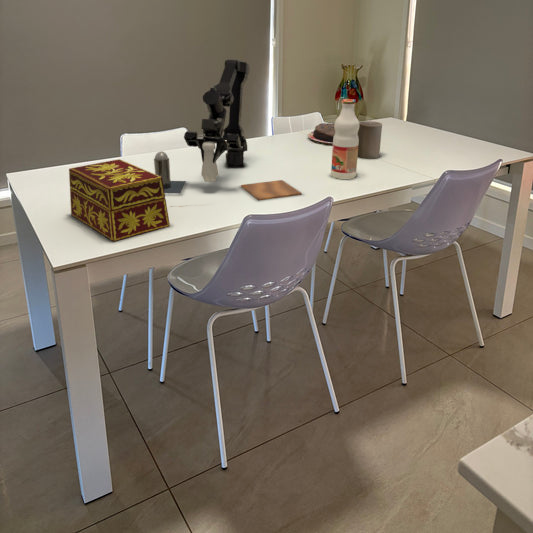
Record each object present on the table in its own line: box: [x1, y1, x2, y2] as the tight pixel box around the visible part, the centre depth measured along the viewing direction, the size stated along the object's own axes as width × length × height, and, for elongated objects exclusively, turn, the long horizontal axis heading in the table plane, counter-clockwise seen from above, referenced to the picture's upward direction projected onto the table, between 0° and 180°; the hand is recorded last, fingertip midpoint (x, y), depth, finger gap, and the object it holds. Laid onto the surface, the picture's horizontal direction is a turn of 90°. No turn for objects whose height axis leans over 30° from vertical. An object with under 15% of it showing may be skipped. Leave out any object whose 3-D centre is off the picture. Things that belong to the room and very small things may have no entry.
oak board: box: [240, 179, 302, 201], centre depth 205 cm, size 16×16×1 cm
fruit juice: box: [330, 98, 360, 180], centre depth 216 cm, size 9×9×28 cm
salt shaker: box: [200, 142, 219, 183], centre depth 198 cm, size 6×6×13 cm
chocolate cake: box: [307, 122, 335, 146], centre depth 274 cm, size 28×28×7 cm
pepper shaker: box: [153, 151, 172, 189], centre depth 204 cm, size 5×5×12 cm
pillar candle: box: [357, 119, 383, 160], centre depth 245 cm, size 10×10×15 cm
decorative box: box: [68, 158, 171, 242], centre depth 175 cm, size 28×19×15 cm
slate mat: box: [164, 180, 187, 195], centre depth 206 cm, size 14×14×1 cm
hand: (208, 162), depth 197 cm, fingers closed on salt shaker, 3 cm apart
